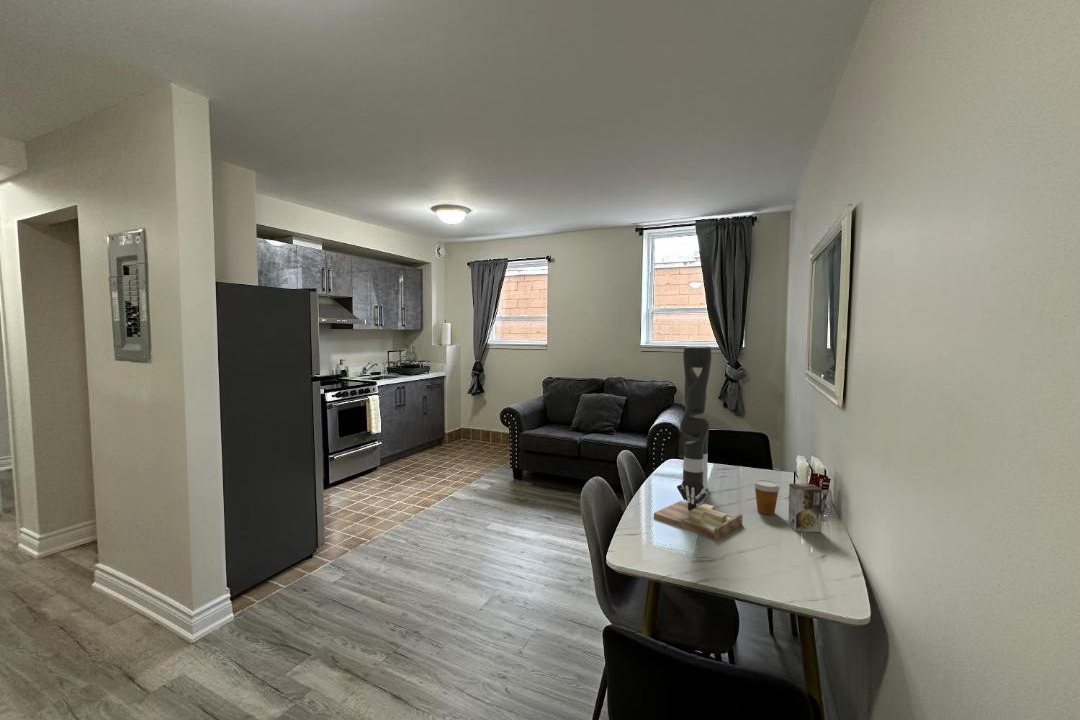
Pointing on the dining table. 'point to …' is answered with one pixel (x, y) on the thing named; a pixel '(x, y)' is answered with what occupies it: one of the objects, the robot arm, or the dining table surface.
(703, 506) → the t block
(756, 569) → the dining table surface
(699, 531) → the board
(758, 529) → the dining table surface
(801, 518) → the cracker box
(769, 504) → the disposable coffee cup
